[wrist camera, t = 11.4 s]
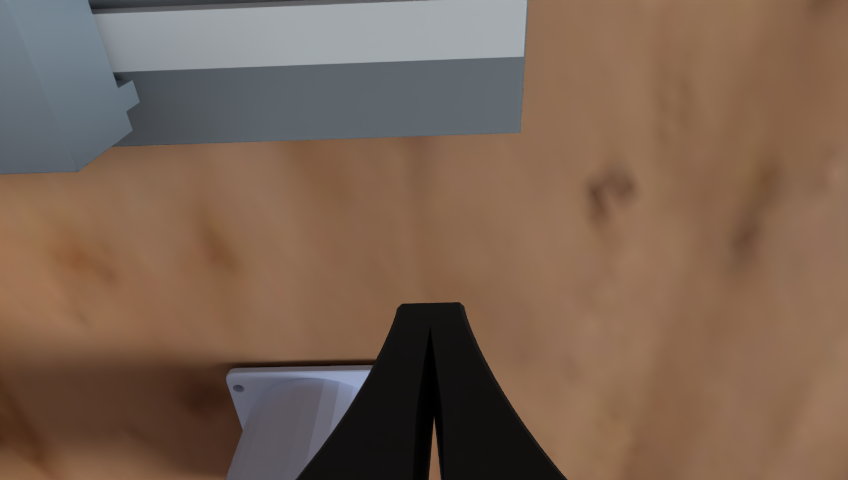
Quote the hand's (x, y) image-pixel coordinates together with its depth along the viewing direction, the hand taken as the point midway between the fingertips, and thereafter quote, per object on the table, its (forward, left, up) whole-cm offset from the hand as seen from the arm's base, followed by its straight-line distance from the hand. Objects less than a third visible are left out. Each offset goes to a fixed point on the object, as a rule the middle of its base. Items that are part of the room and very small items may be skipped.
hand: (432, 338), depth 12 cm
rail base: (+5, +7, -9) cm, 13 cm away
